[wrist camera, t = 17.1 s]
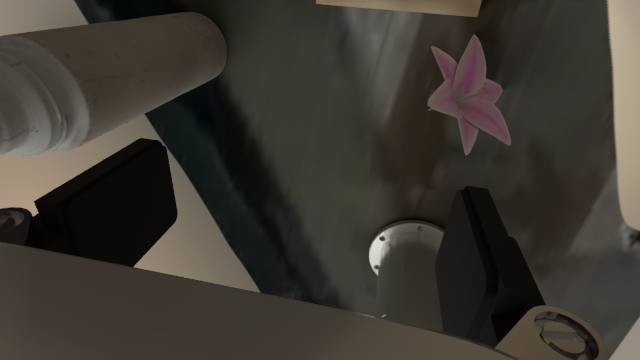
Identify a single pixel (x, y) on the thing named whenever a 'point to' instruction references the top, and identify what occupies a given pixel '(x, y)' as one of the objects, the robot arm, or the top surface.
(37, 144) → the thermos bottle
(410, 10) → the post block
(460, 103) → the lily
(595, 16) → the top surface
